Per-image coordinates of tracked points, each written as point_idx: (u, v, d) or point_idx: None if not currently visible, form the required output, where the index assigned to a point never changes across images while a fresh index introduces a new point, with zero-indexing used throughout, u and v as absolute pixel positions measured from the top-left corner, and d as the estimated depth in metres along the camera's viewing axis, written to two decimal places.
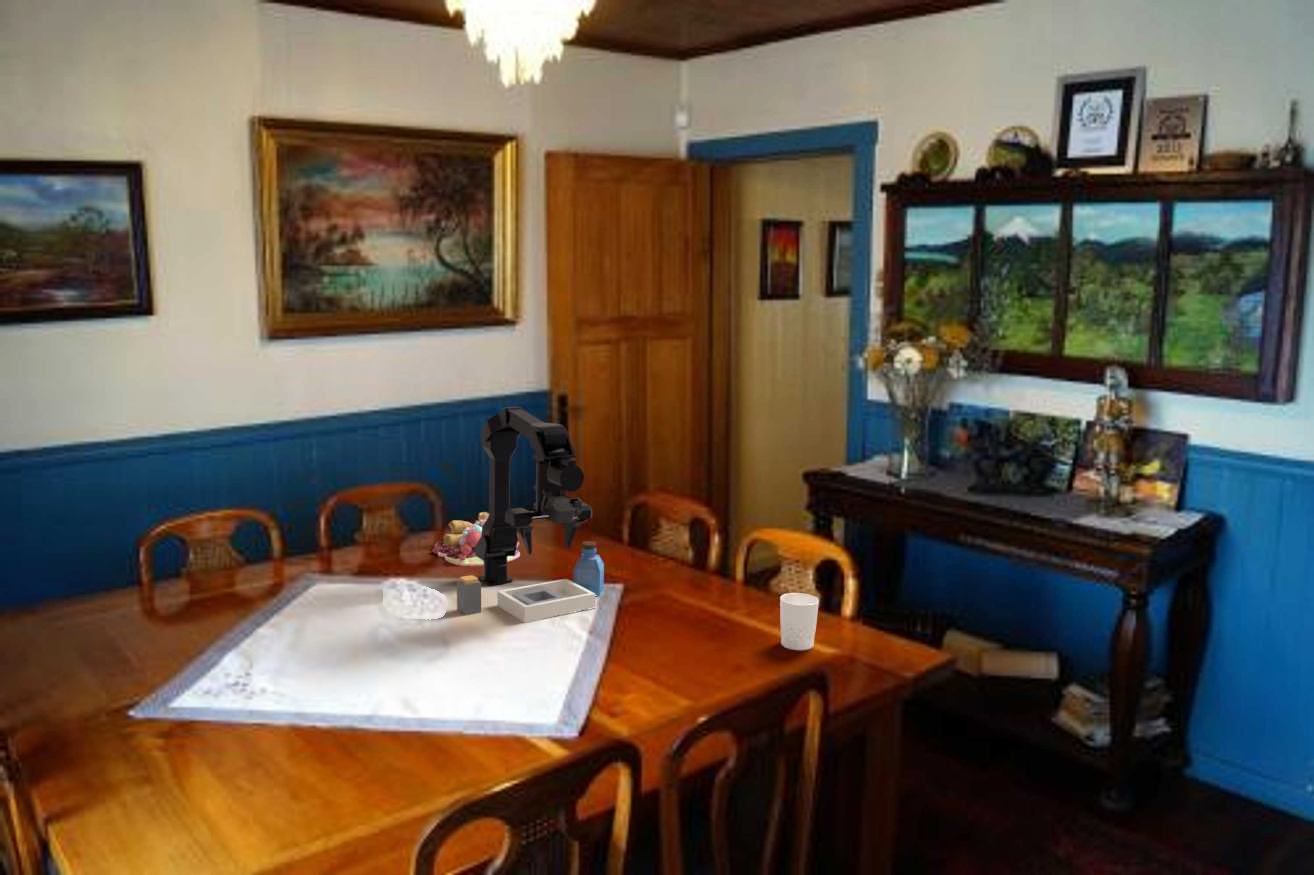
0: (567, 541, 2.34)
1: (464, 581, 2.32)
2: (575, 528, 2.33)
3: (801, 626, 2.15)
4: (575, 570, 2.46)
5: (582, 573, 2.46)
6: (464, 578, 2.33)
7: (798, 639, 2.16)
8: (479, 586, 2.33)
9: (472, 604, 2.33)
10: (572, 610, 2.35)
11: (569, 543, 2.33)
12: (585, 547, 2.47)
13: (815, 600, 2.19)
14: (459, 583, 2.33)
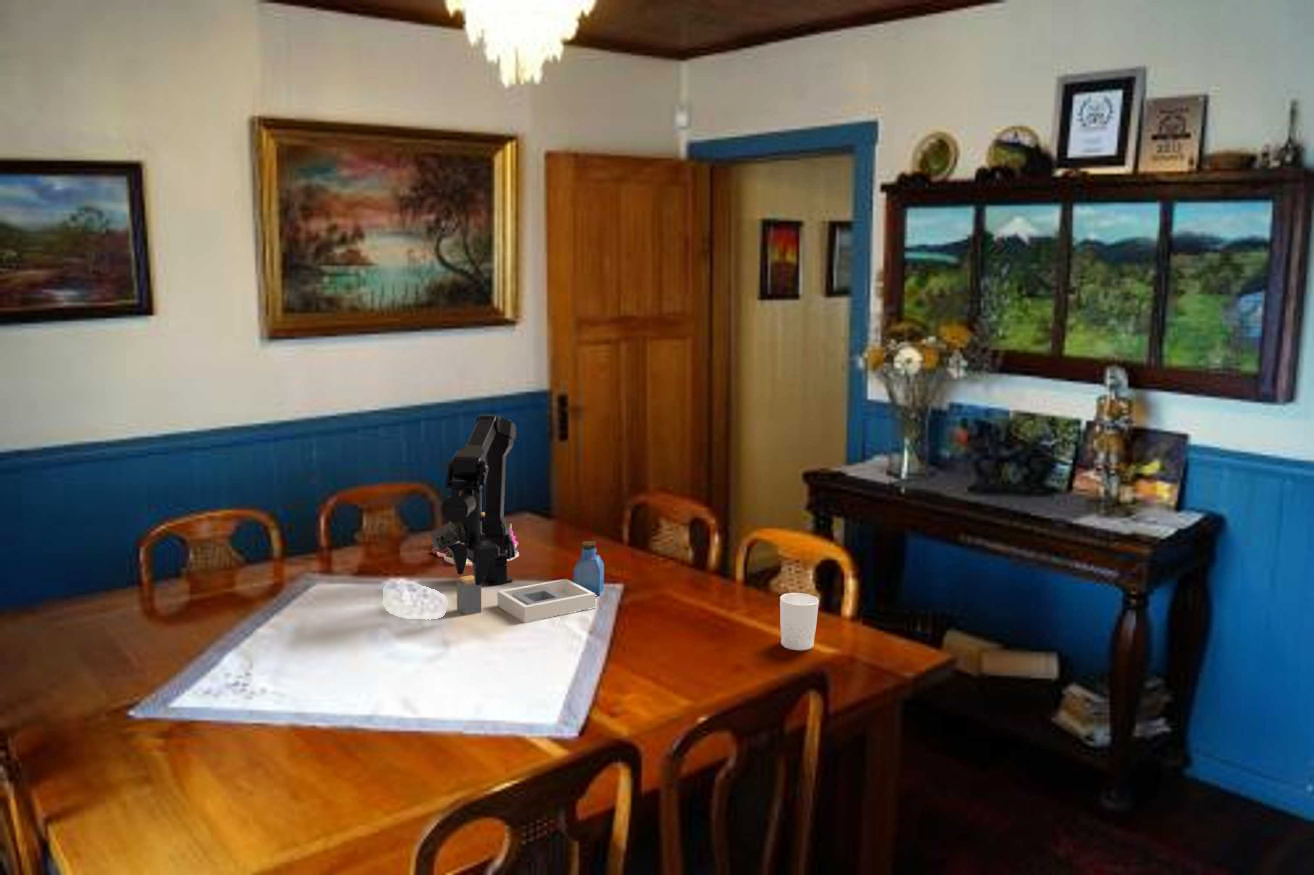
0: None
1: (464, 581, 2.32)
2: (474, 565, 2.27)
3: (801, 626, 2.15)
4: (575, 570, 2.46)
5: (582, 573, 2.46)
6: (464, 578, 2.33)
7: (798, 639, 2.16)
8: (479, 586, 2.33)
9: (472, 604, 2.33)
10: (572, 610, 2.35)
11: (475, 579, 2.29)
12: (585, 547, 2.47)
13: (815, 600, 2.19)
14: (459, 583, 2.33)
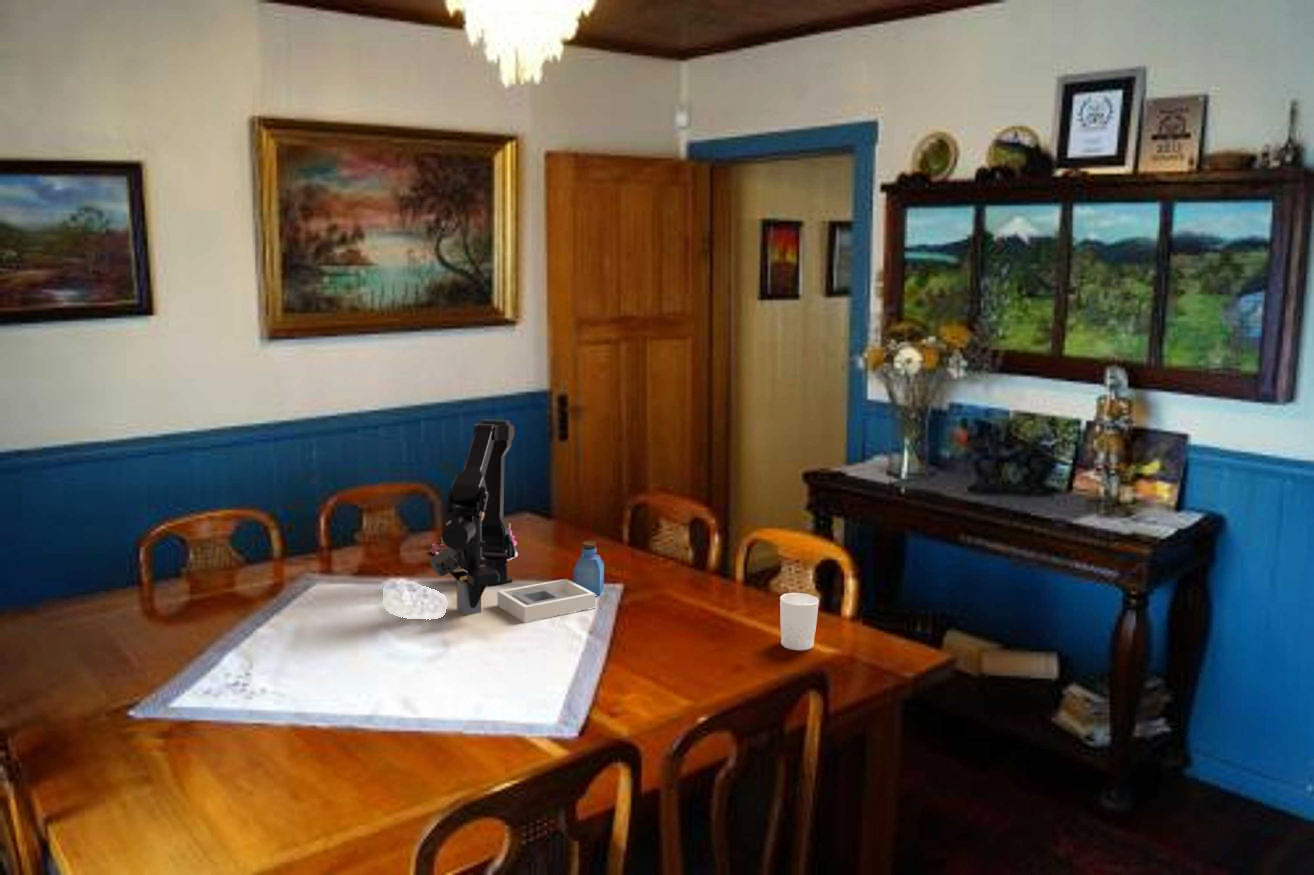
0: None
1: None
2: (469, 588, 2.30)
3: (801, 626, 2.15)
4: (575, 570, 2.46)
5: (582, 573, 2.46)
6: (464, 578, 2.33)
7: (798, 639, 2.16)
8: None
9: None
10: (572, 610, 2.35)
11: (470, 601, 2.32)
12: (585, 547, 2.47)
13: (815, 600, 2.19)
14: (459, 583, 2.33)
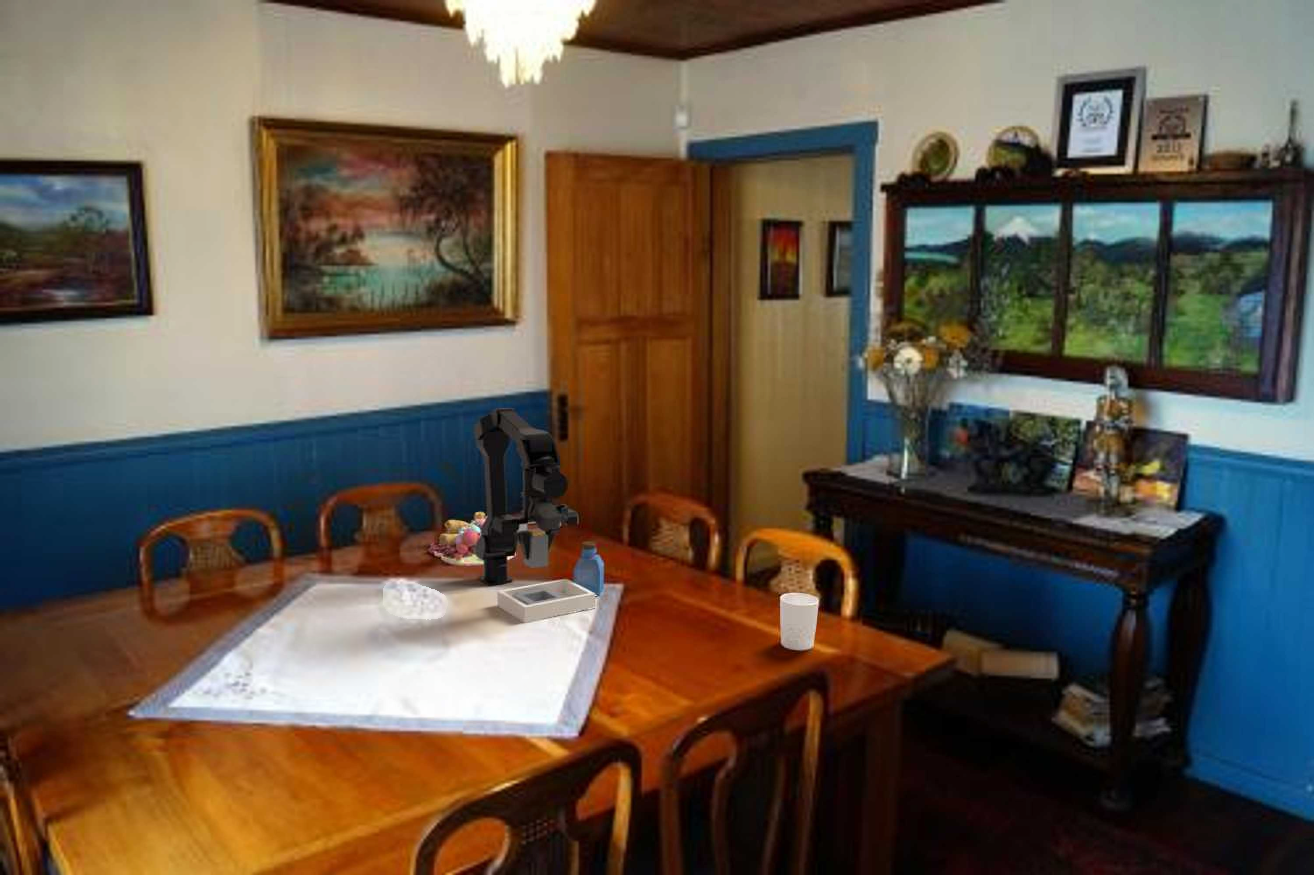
0: None
1: (542, 533, 2.33)
2: (552, 536, 2.34)
3: (801, 626, 2.15)
4: (575, 570, 2.46)
5: (582, 573, 2.46)
6: (537, 531, 2.33)
7: (798, 639, 2.16)
8: None
9: None
10: (572, 610, 2.35)
11: None
12: (585, 547, 2.47)
13: (815, 600, 2.19)
14: (537, 538, 2.32)
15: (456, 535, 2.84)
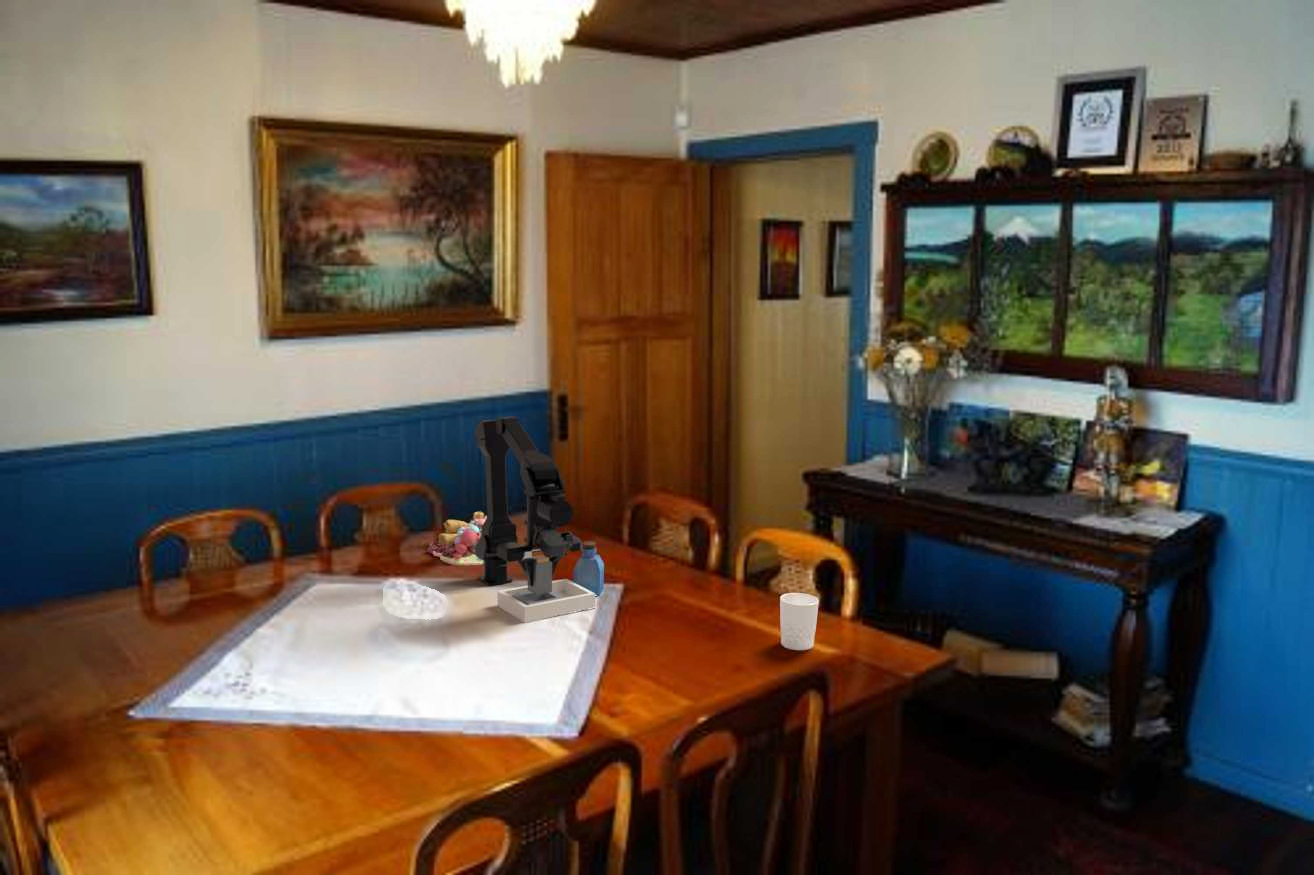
0: None
1: (546, 559, 2.34)
2: (556, 562, 2.36)
3: (801, 626, 2.15)
4: (575, 570, 2.46)
5: (582, 573, 2.46)
6: (541, 558, 2.34)
7: (798, 639, 2.16)
8: None
9: None
10: (572, 610, 2.35)
11: None
12: (585, 547, 2.47)
13: (815, 600, 2.19)
14: (541, 565, 2.33)
15: (455, 535, 2.84)
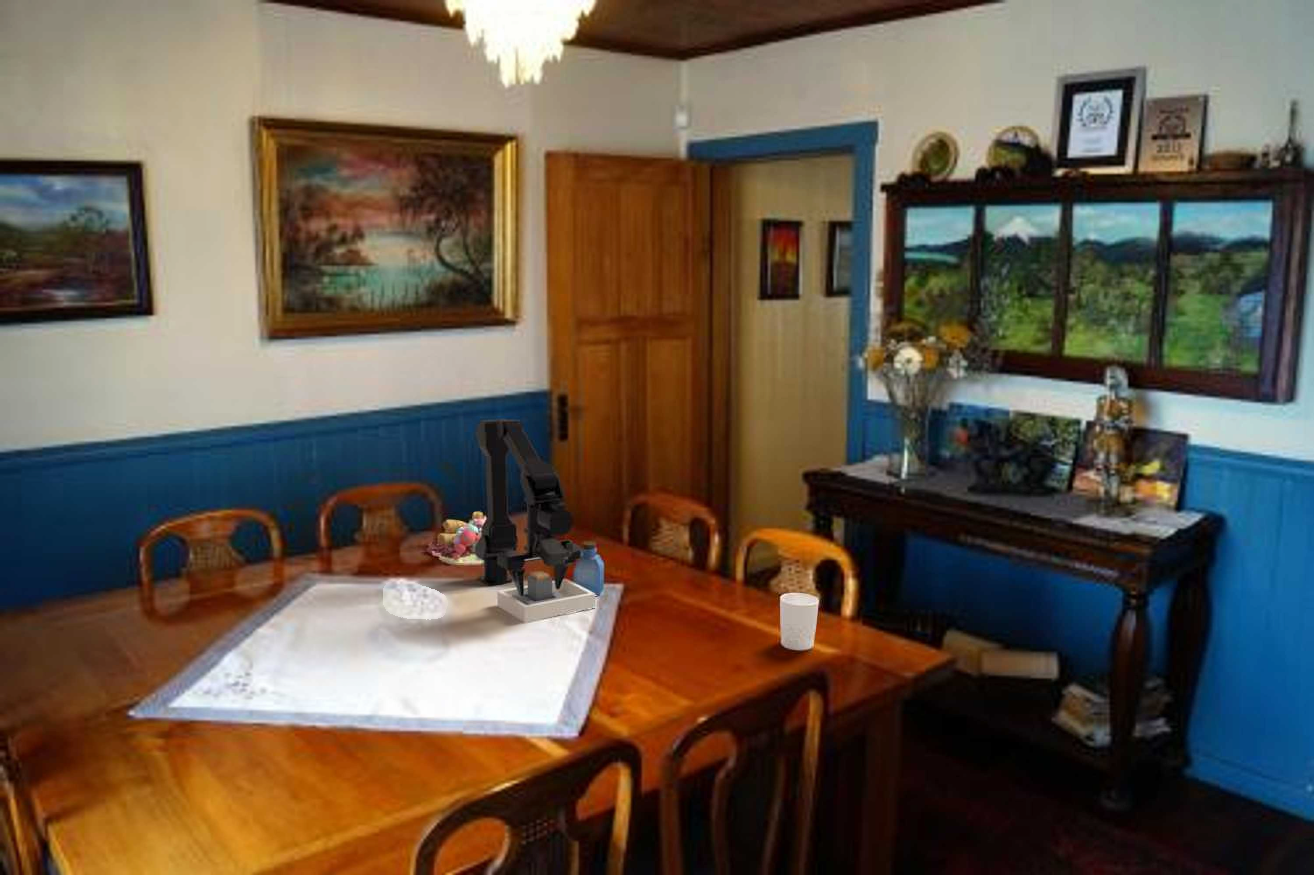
0: (557, 582, 2.38)
1: (546, 576, 2.35)
2: (565, 568, 2.38)
3: (801, 626, 2.15)
4: (575, 570, 2.46)
5: (582, 573, 2.46)
6: (541, 574, 2.35)
7: (798, 639, 2.16)
8: None
9: None
10: (572, 610, 2.35)
11: (559, 583, 2.38)
12: (585, 547, 2.47)
13: (815, 600, 2.19)
14: (541, 581, 2.34)
15: (454, 535, 2.84)
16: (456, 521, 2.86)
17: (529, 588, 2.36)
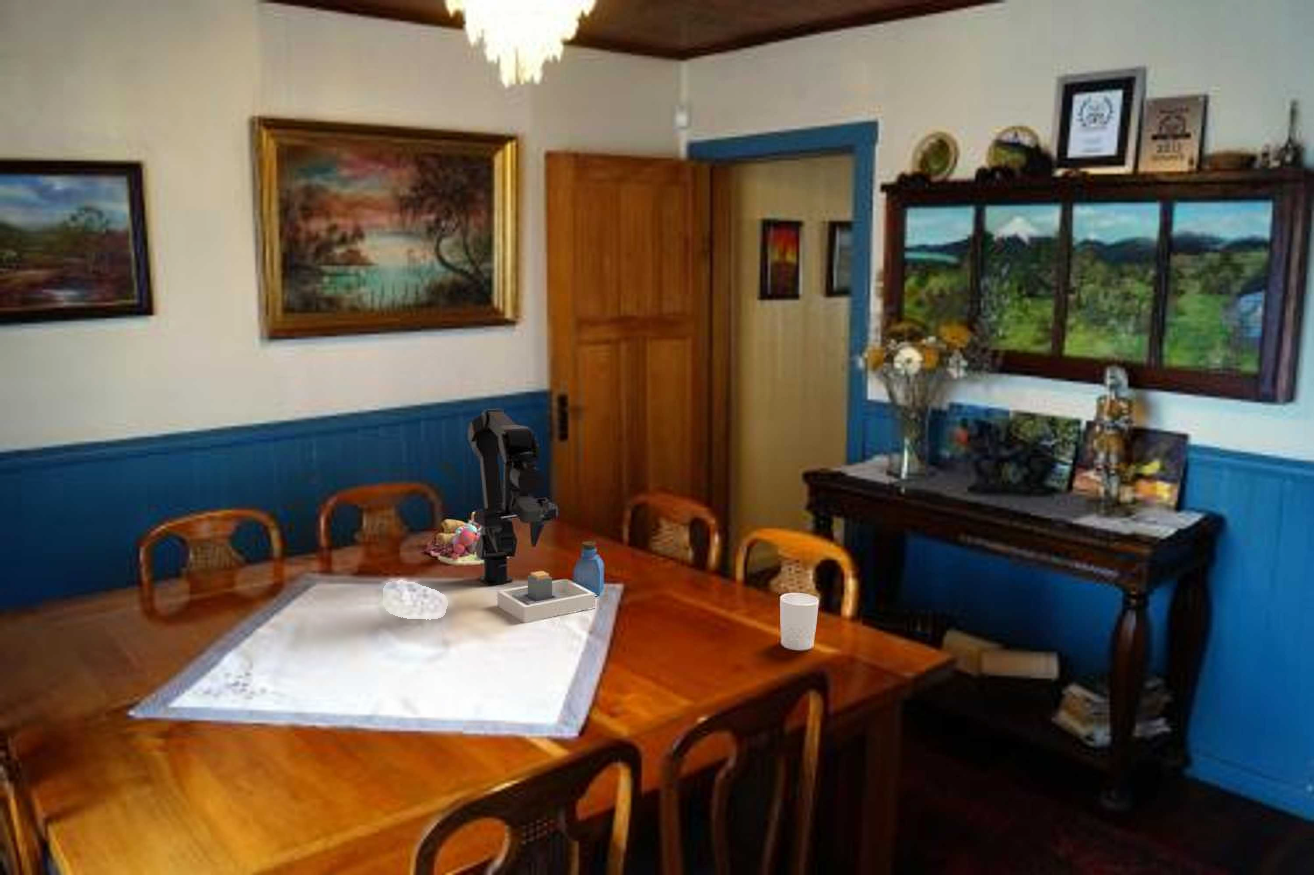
0: (533, 539, 2.42)
1: (546, 576, 2.35)
2: (541, 526, 2.41)
3: (801, 626, 2.15)
4: (575, 570, 2.46)
5: (582, 573, 2.46)
6: (541, 574, 2.35)
7: (798, 639, 2.16)
8: None
9: None
10: (572, 610, 2.35)
11: (535, 541, 2.42)
12: (585, 547, 2.47)
13: (815, 600, 2.19)
14: (541, 581, 2.34)
15: (453, 535, 2.85)
16: (455, 521, 2.86)
17: (529, 588, 2.36)
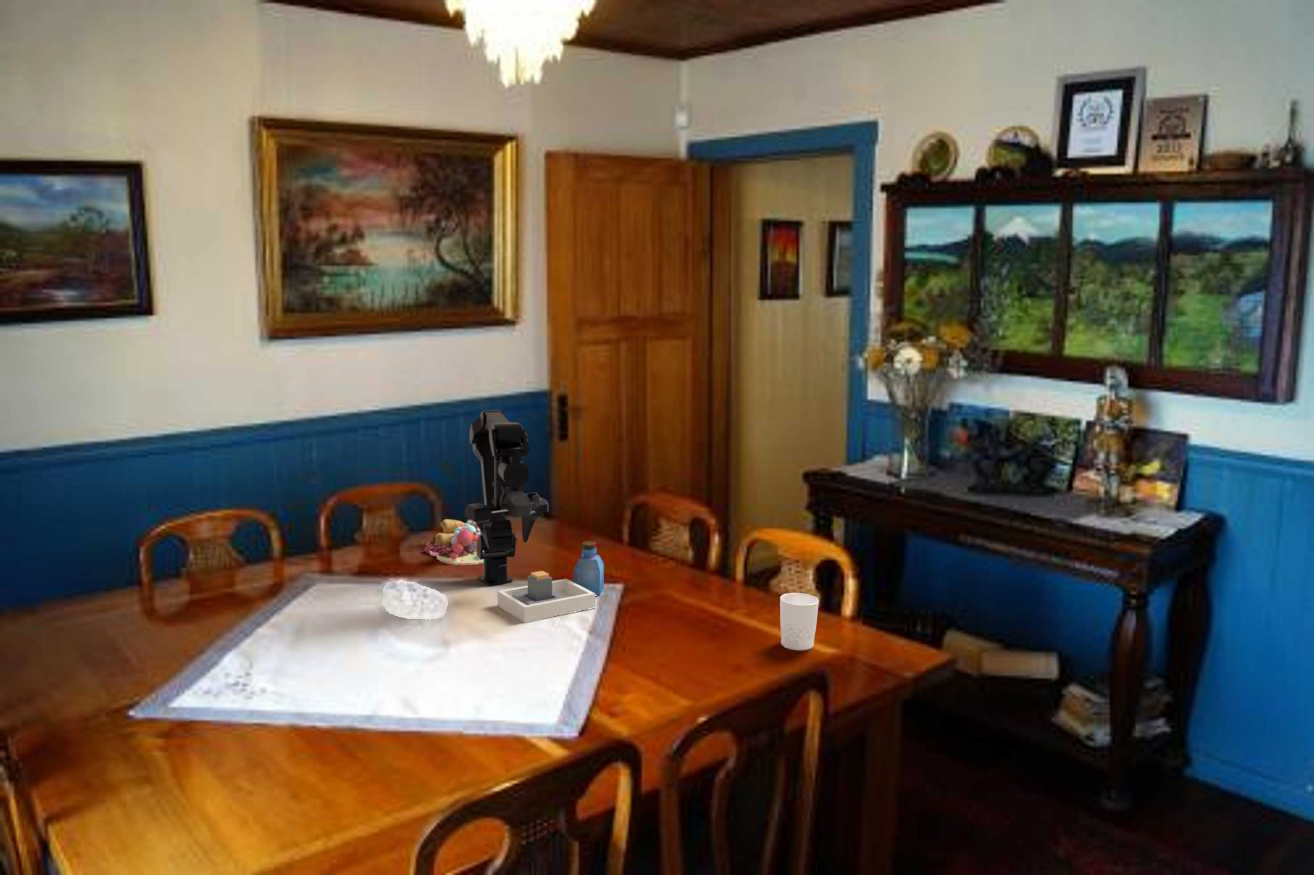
0: (524, 535, 2.43)
1: (546, 576, 2.35)
2: (532, 522, 2.42)
3: (801, 626, 2.15)
4: (575, 570, 2.46)
5: (582, 573, 2.46)
6: (541, 574, 2.35)
7: (798, 639, 2.16)
8: None
9: None
10: (572, 610, 2.35)
11: (527, 536, 2.43)
12: (585, 547, 2.47)
13: (815, 600, 2.19)
14: (541, 581, 2.34)
15: (452, 535, 2.85)
16: (454, 521, 2.86)
17: (529, 588, 2.36)
